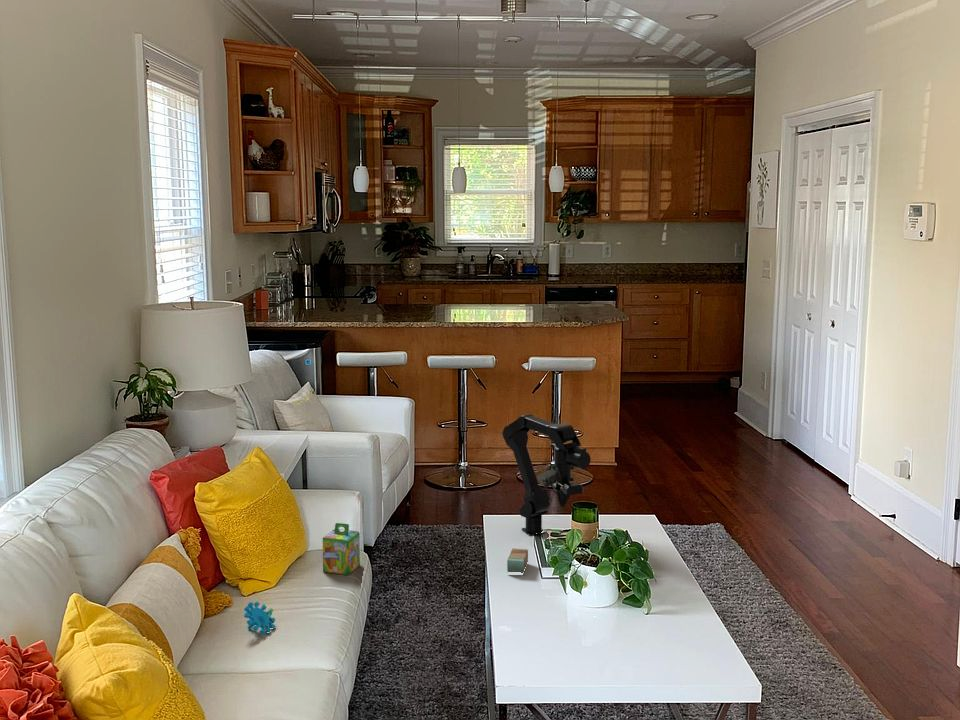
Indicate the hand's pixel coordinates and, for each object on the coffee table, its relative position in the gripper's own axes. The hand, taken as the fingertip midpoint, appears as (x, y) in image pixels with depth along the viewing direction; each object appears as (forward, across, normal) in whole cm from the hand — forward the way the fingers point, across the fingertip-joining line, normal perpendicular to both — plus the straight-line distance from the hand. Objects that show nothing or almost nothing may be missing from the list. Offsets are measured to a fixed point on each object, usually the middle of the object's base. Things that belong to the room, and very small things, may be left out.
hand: (562, 506), depth 322 cm
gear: (+13, +24, -106) cm, 109 cm away
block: (+11, +10, -20) cm, 25 cm away
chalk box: (+13, -9, -74) cm, 76 cm away
